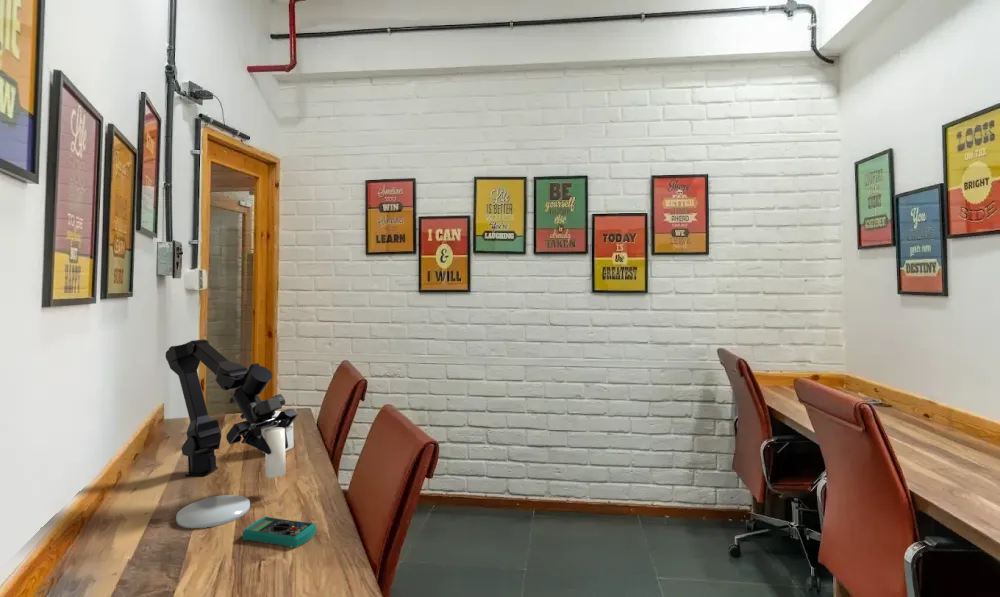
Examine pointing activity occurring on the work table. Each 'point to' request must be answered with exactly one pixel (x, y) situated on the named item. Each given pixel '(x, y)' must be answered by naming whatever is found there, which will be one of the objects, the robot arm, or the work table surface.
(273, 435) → the white cylindrical post
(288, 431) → the supplement box
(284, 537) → the digital multimeter
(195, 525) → the plate
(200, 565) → the work table surface
